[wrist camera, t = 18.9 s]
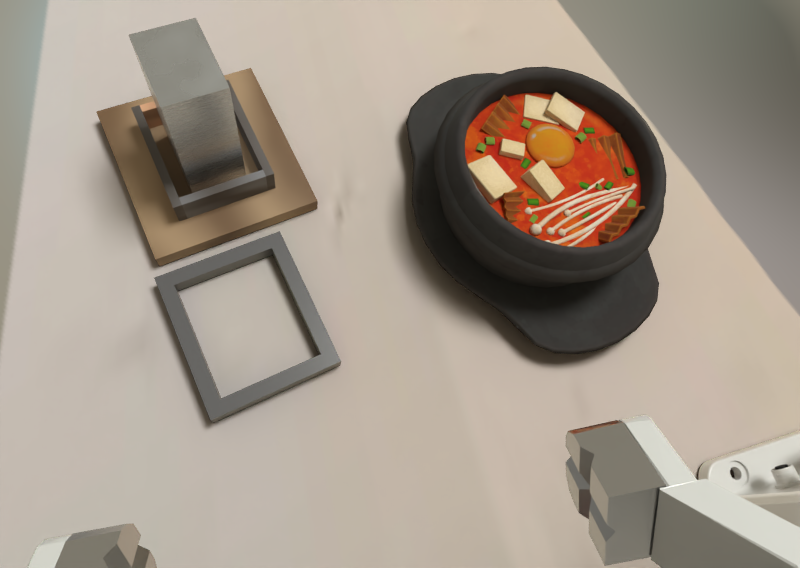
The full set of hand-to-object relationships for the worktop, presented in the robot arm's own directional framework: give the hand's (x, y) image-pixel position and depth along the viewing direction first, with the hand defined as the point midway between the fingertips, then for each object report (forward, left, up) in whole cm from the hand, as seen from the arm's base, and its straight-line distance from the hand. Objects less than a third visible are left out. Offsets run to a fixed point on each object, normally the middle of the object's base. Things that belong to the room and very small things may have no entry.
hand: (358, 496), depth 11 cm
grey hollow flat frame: (0, -13, -28) cm, 31 cm away
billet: (-2, -26, -27) cm, 37 cm away
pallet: (-2, -26, -28) cm, 38 cm away
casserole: (-23, -13, -28) cm, 39 cm away
